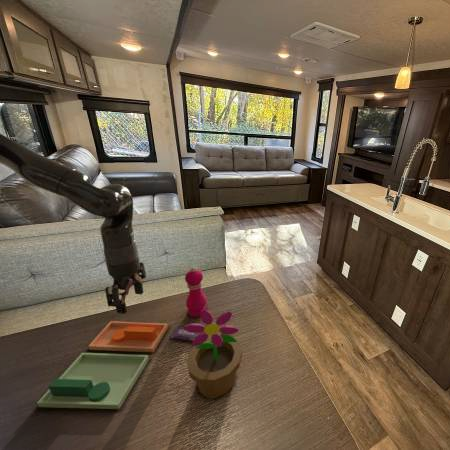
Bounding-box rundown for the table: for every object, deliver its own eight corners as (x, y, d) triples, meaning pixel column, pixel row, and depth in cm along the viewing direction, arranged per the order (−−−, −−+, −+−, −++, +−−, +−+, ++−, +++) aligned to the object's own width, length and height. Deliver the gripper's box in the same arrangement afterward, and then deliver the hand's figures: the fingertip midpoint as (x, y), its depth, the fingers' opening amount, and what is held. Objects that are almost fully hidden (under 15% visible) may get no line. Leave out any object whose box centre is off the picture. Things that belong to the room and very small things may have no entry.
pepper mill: (185, 319, 91) (180, 274, 83) (188, 305, 98) (183, 262, 90) (206, 316, 93) (203, 272, 85) (207, 303, 100) (204, 261, 92)
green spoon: (114, 385, 67) (111, 376, 66) (102, 402, 63) (99, 392, 62) (63, 383, 66) (59, 374, 65) (48, 401, 62) (43, 391, 61)
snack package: (169, 335, 82) (177, 324, 86) (170, 340, 82) (178, 328, 87) (203, 340, 81) (209, 328, 86) (204, 344, 82) (210, 332, 87)
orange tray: (89, 351, 76) (87, 346, 75) (111, 325, 86) (110, 321, 85) (153, 353, 77) (152, 348, 77) (168, 328, 87) (167, 323, 86)
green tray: (39, 408, 61) (36, 403, 60) (83, 357, 74) (82, 352, 73) (119, 410, 62) (117, 405, 61) (149, 360, 75) (148, 355, 75)
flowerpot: (186, 412, 63) (173, 323, 52) (193, 362, 76) (184, 282, 64) (243, 399, 67) (243, 315, 56) (240, 354, 80) (240, 277, 68)
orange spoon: (109, 342, 79) (107, 333, 78) (118, 331, 83) (116, 322, 82) (151, 343, 80) (150, 335, 78) (158, 333, 84) (157, 324, 82)
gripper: (124, 243, 75) (132, 287, 81) (88, 269, 62) (101, 319, 68) (149, 245, 75) (156, 288, 82) (119, 272, 62) (130, 321, 68)
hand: (131, 302), depth 75 cm, fingers open, 8 cm apart
